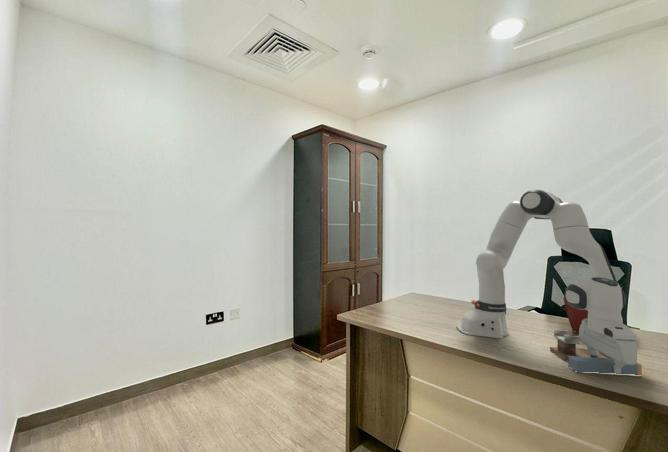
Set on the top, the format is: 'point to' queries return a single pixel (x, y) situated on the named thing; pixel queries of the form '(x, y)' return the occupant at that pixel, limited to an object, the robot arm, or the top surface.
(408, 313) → the top surface
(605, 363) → the rail
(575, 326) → the plant pot
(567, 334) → the stand
